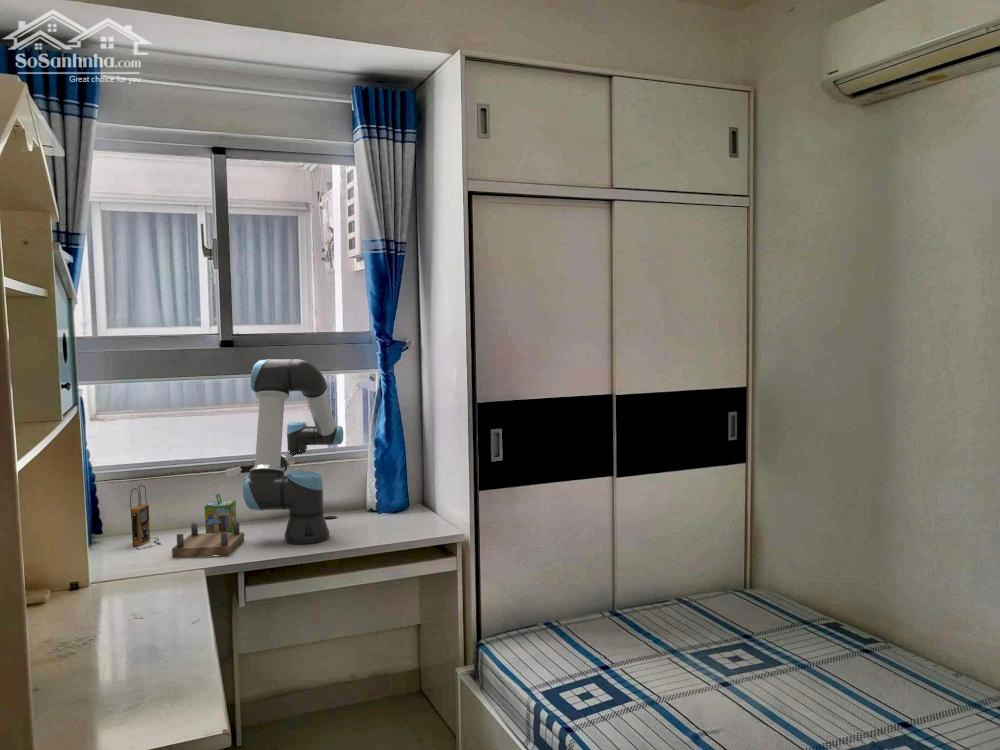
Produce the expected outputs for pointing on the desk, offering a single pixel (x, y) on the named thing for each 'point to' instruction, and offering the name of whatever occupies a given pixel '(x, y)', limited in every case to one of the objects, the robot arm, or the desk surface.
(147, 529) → the multimeter
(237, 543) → the peg stand
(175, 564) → the desk surface
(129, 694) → the desk surface
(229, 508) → the chalk box
